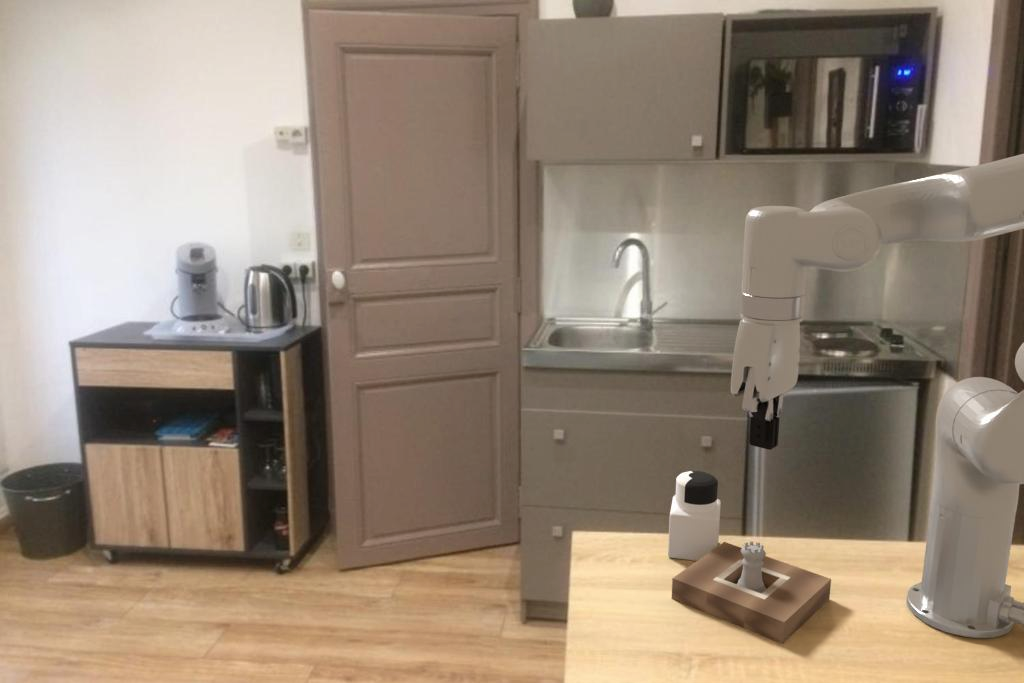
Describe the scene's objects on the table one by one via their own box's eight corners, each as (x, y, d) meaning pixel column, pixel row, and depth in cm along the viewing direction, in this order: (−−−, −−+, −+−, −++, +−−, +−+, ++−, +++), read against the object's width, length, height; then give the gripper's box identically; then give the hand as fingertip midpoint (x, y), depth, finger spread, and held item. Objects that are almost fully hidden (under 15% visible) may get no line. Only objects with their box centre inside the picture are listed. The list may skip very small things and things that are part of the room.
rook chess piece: (768, 610, 117) (772, 555, 115) (733, 606, 117) (737, 552, 115) (765, 592, 121) (769, 539, 119) (732, 589, 122) (735, 536, 120)
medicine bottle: (718, 541, 135) (722, 468, 132) (717, 564, 129) (721, 487, 126) (671, 536, 137) (674, 464, 134) (667, 558, 130) (670, 483, 127)
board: (829, 598, 119) (831, 578, 118) (782, 643, 109) (784, 622, 108) (723, 560, 130) (724, 541, 129) (671, 598, 120) (672, 578, 119)
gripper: (771, 294, 117) (763, 424, 122) (714, 313, 107) (708, 455, 111) (826, 301, 112) (815, 436, 117) (772, 322, 102) (763, 470, 106)
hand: (763, 445), depth 114 cm, fingers closed
